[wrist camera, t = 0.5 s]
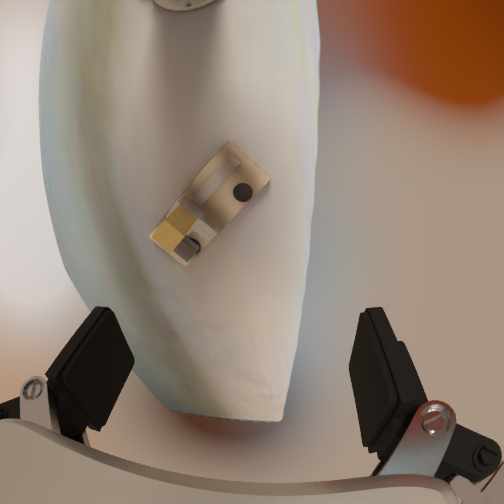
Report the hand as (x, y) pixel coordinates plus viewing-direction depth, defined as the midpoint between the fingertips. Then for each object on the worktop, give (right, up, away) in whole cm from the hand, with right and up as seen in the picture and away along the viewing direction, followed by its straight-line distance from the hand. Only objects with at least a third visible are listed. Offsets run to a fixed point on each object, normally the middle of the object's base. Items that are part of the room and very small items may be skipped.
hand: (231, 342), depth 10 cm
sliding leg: (-7, +9, +31) cm, 33 cm away
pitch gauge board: (-6, +10, +32) cm, 34 cm away
